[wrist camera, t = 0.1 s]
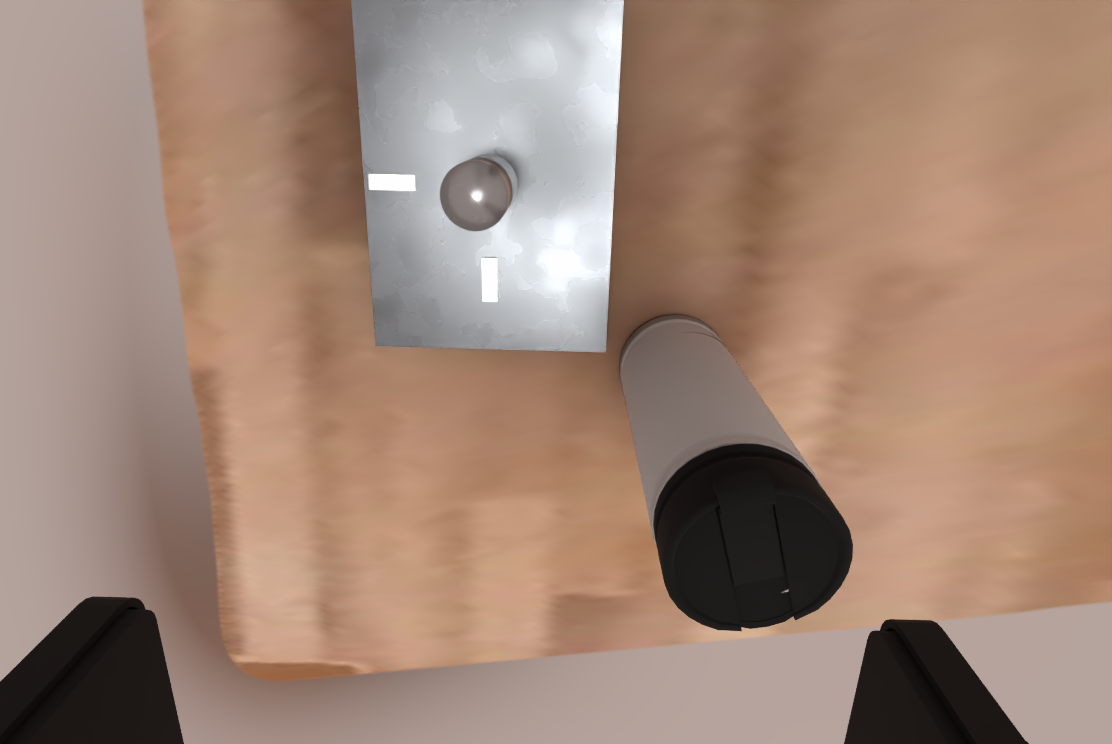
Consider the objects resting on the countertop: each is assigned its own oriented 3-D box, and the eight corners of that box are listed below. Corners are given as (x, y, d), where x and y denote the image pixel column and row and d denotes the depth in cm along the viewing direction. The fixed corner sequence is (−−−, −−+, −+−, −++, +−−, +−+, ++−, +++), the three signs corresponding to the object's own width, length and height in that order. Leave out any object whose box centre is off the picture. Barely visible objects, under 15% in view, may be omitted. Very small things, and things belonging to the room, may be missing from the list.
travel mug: (713, 295, 39) (849, 459, 20) (733, 399, 41) (873, 634, 22) (606, 323, 40) (641, 506, 21) (632, 423, 42) (684, 671, 23)
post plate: (358, -10, 34) (304, -44, 27) (621, -4, 34) (636, -36, 27) (382, 338, 40) (342, 384, 33) (604, 343, 40) (612, 391, 33)
